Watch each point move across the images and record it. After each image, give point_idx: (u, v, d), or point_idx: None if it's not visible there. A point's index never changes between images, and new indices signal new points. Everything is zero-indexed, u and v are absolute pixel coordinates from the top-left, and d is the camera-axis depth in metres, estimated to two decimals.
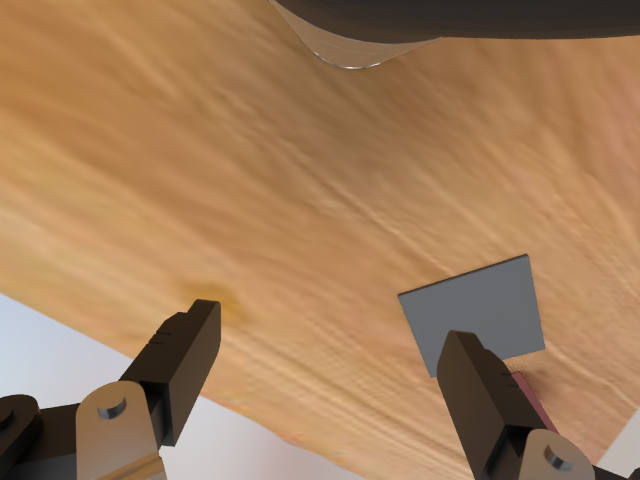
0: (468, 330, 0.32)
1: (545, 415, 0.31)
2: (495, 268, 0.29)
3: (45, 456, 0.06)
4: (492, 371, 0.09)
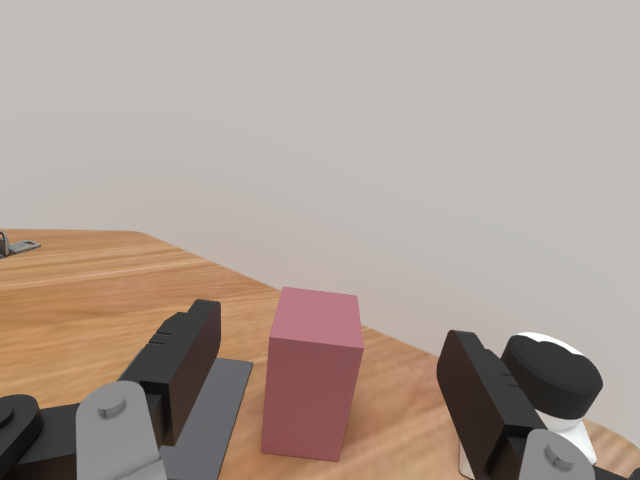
0: None
1: None
2: None
3: (45, 456, 0.06)
4: (492, 371, 0.09)
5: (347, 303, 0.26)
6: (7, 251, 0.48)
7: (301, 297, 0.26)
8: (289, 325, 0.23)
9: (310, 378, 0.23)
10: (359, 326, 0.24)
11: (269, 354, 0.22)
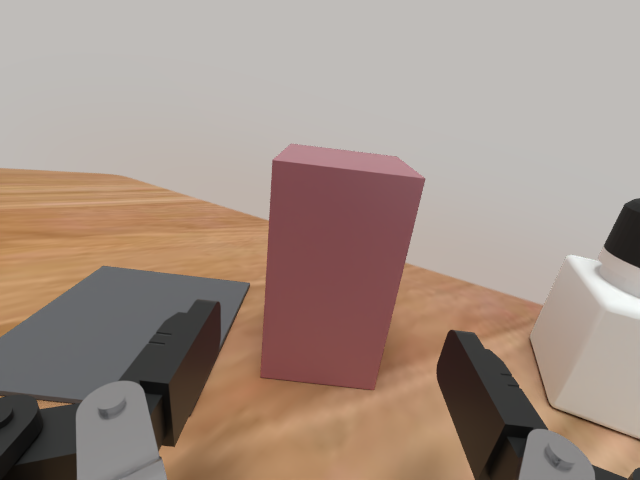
0: (139, 327, 0.20)
1: None
2: (80, 284, 0.23)
3: (45, 456, 0.06)
4: (492, 371, 0.09)
5: (385, 158, 0.18)
6: None
7: (318, 149, 0.18)
8: (304, 158, 0.15)
9: (336, 241, 0.15)
10: (410, 168, 0.15)
11: (272, 196, 0.14)
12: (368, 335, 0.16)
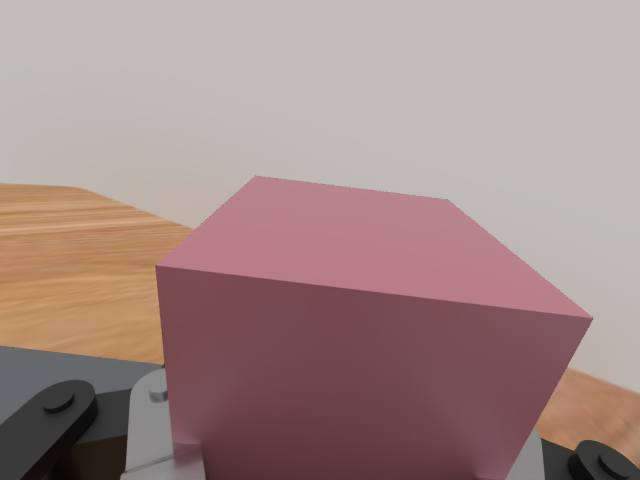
0: None
1: None
2: None
3: (97, 443, 0.06)
4: None
5: (432, 208, 0.09)
6: None
7: (303, 191, 0.09)
8: (259, 237, 0.06)
9: (339, 443, 0.06)
10: (506, 251, 0.07)
11: (169, 349, 0.05)
12: None
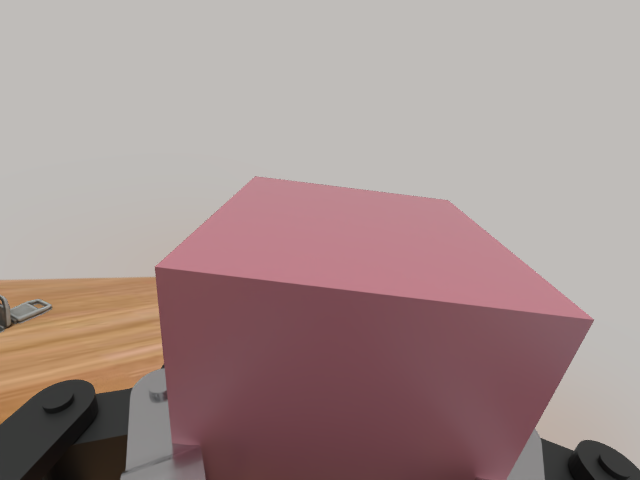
0: None
1: None
2: None
3: (97, 443, 0.06)
4: None
5: (432, 209, 0.09)
6: (8, 321, 0.36)
7: (303, 192, 0.09)
8: (259, 238, 0.06)
9: (339, 445, 0.06)
10: (507, 252, 0.07)
11: (168, 350, 0.05)
12: None
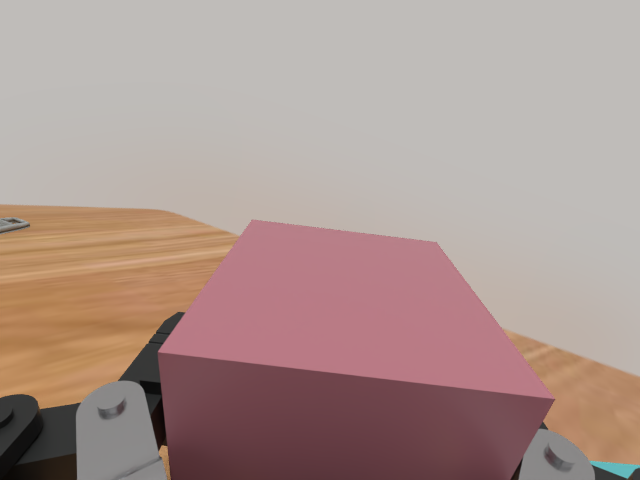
0: None
1: None
2: None
3: (45, 456, 0.06)
4: None
5: (420, 255, 0.10)
6: None
7: (297, 240, 0.10)
8: (254, 309, 0.06)
9: None
10: (485, 313, 0.07)
11: (170, 419, 0.06)
12: None
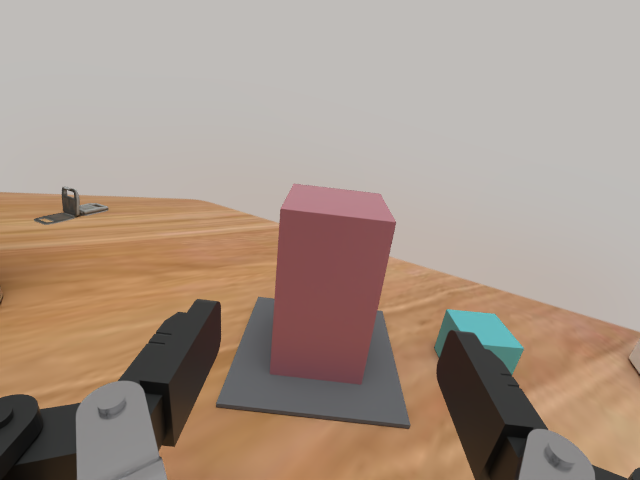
0: None
1: None
2: (254, 315, 0.28)
3: (45, 456, 0.06)
4: (492, 371, 0.09)
5: (370, 197, 0.22)
6: (78, 211, 0.44)
7: (315, 190, 0.22)
8: (304, 204, 0.19)
9: (330, 268, 0.19)
10: (387, 209, 0.20)
11: (280, 234, 0.18)
12: (355, 340, 0.21)
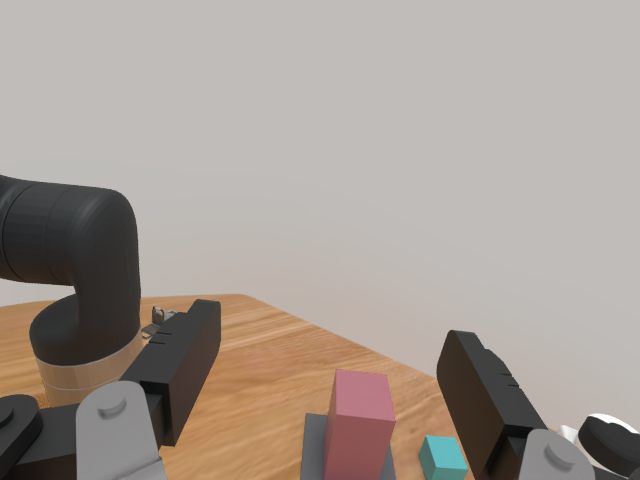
0: None
1: (329, 408, 0.43)
2: (306, 431, 0.45)
3: (45, 456, 0.06)
4: (492, 371, 0.09)
5: (381, 382, 0.39)
6: None
7: (350, 378, 0.39)
8: (347, 404, 0.35)
9: (360, 438, 0.35)
10: (391, 402, 0.36)
11: (335, 424, 0.35)
12: (373, 469, 0.37)
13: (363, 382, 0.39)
